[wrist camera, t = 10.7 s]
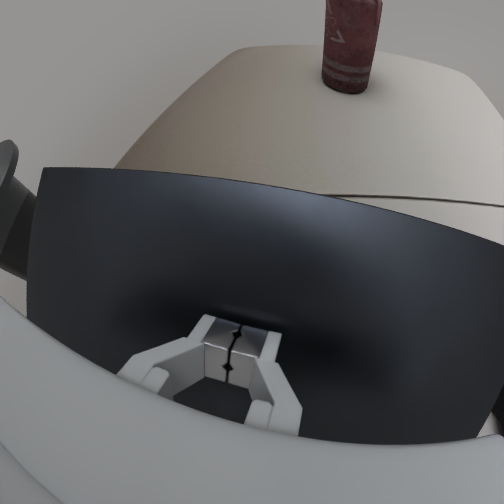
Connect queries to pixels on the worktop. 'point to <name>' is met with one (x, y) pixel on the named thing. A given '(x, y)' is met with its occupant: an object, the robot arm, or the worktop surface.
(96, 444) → the robot arm
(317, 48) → the worktop surface
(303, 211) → the laptop screen
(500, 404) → the alarm clock
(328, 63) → the can
